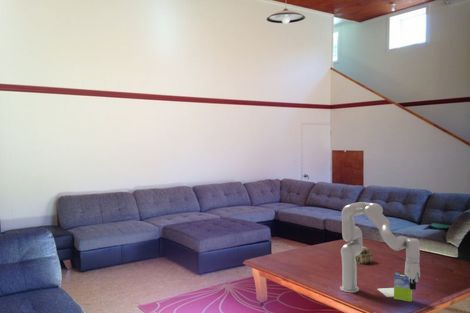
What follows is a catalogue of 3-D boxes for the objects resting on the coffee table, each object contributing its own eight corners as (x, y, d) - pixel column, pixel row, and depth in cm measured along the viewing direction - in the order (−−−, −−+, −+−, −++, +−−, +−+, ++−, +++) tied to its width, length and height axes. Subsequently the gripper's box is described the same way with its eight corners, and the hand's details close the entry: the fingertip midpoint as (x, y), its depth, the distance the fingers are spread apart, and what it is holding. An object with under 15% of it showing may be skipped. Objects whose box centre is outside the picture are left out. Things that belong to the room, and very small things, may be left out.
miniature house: (348, 260, 337) (348, 247, 337) (360, 258, 343) (360, 245, 343) (361, 265, 323) (361, 251, 323) (374, 263, 330) (373, 249, 329)
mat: (377, 289, 270) (377, 288, 270) (399, 288, 271) (399, 287, 271) (387, 297, 256) (387, 296, 256) (410, 296, 257) (410, 295, 257)
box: (412, 300, 251) (412, 273, 250) (411, 302, 247) (411, 275, 247) (394, 297, 256) (394, 270, 256) (393, 299, 252) (393, 272, 252)
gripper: (400, 256, 246) (400, 285, 247) (413, 263, 231) (413, 294, 232) (412, 255, 247) (412, 284, 248) (425, 262, 232) (425, 293, 233)
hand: (412, 289), depth 240 cm, fingers closed
